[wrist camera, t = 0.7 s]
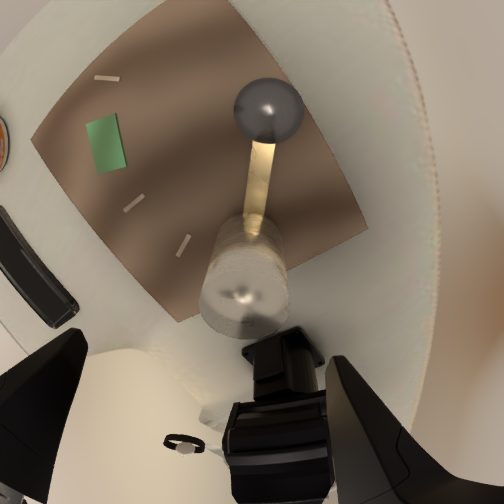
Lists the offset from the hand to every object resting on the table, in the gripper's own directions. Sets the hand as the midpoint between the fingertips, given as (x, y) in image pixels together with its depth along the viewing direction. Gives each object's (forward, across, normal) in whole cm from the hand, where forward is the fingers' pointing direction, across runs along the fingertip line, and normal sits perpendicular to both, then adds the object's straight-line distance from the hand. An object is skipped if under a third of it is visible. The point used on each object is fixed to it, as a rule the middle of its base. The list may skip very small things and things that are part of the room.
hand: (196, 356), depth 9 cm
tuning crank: (+11, -2, -3) cm, 11 cm away
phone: (+13, +23, +7) cm, 28 cm away
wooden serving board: (+12, +3, -4) cm, 13 cm away
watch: (+14, +9, +43) cm, 46 cm away
